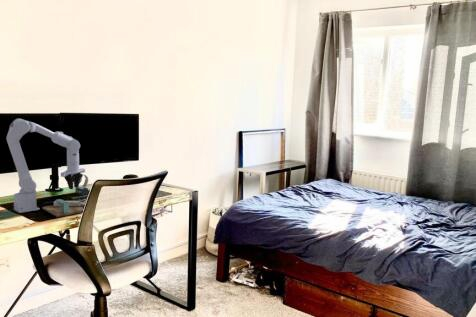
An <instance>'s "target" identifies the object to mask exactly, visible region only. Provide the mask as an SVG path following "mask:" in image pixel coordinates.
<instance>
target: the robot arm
mask: <svg viewBox="0 0 476 317" xmlns="http://www.w3.org/2000/svg"><path fill="white" fill-rule="evenodd" d="M29 132H30V133H34V132H35V133H39V134H41V135H43V136H45V137H48V138H50V139H51V141H52V142H53V143H54V144H57V145H59V146H61V147H63V148H66V168H67V169H66V171H63V172H62V171H61V172H60V177H62V178H64V179H65V181H66V183H67V186H68V190H73V189H74V188H78V187H80V184H79V183H81V182H80V180H81V178H82V179H83V177H84V173H86V168H80V153H79V152H80V151H79V150H80V148H81V144H80V142H79V141H78V140H77V139H75V138H73V137H72V136H71V135H70V136H69V135H67V134H64V132H63V131H55V132H53V131H52V130H50V129H48V128H46V127H44V126H42V125H40V124H37V123H35V122H32V121H29V120H25V119H22V118H16V119H14V120H13V121H12V122H11V124H10V125H9V128H8V132H7V135H6V142H7V144H8V148H9V151H10V154H11V156H12V159H13V163H14V166H15V169H16V171H17V174H18V186H19V187H20V189H19V192H17V193H14V195H13V210H14V211H15V212H17V213H19V214H21V213H27V212H32V211H39V210H41V208H40V207H38V206H37V190H36V189H37V183H36V181H35V180H34V179H33V177H32V175H31V173H30V170H29V168H28V165H27V162H26V158H25V156H24V152H23V150H22V147H21V143H20V140H21V139H22V138H23V136H24V135H25V134H27V133H29ZM82 176H83V177H82Z"/></svg>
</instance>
